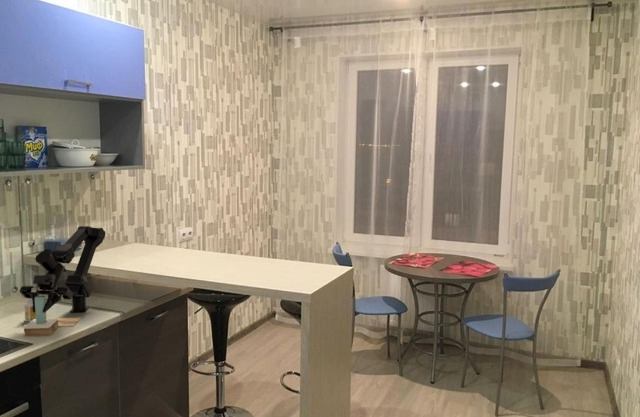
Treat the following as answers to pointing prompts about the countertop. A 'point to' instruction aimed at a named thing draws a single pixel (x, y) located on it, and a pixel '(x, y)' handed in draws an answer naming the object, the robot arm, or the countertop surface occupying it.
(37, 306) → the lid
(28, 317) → the supplement bottle
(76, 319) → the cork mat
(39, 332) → the walnut box
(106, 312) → the countertop surface
